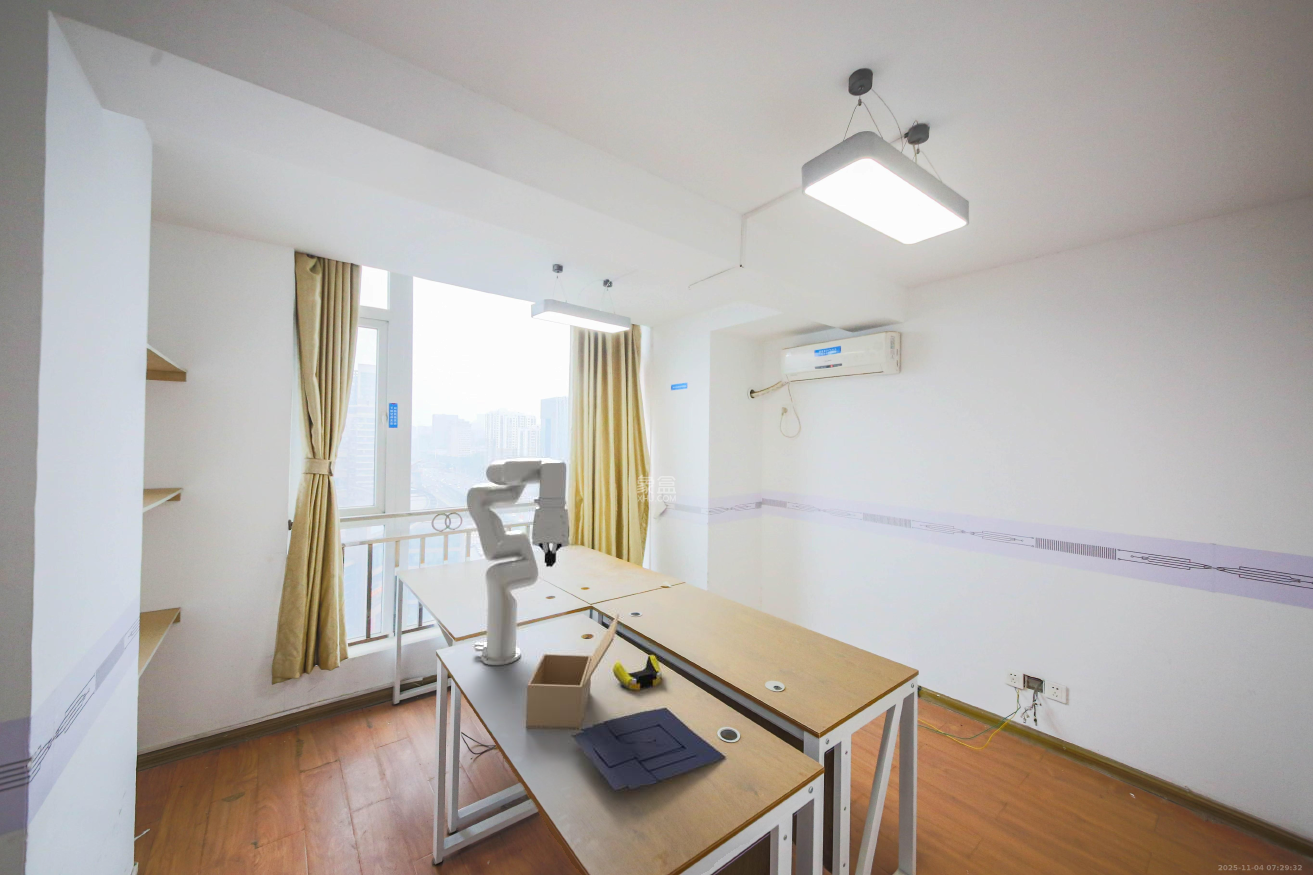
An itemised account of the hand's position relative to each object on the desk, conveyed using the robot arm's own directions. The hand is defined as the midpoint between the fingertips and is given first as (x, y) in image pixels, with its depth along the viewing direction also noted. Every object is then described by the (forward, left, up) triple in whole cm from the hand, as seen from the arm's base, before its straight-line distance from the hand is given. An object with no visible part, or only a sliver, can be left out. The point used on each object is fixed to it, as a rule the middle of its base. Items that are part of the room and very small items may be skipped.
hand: (550, 565), depth 136 cm
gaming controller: (+27, +8, -37) cm, 47 cm away
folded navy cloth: (+30, -25, -38) cm, 54 cm away
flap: (+17, -9, -20) cm, 27 cm away
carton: (+6, -9, -37) cm, 38 cm away
